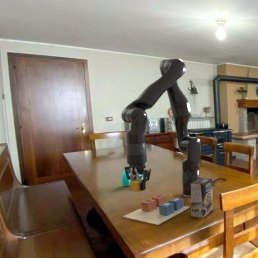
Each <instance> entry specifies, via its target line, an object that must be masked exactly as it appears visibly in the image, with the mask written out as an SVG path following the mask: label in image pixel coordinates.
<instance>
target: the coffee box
mask: <svg viewBox="0 0 258 258" xmlns="http://www.w3.org/2000/svg"><path fill="white" fill-rule="evenodd" d="M212 181H213V178H207V177H201V178H200V179H198V180H196V181H195V182H193V183H191V197H190V210H191V211H190V215H191V217H193V218H194V217H195V218H205V217H206V216H207V215H208V214H209V213H210V212H212V211H213V208H214V207H213V206H214V205H213V202H214V201H213V186H212Z"/></svg>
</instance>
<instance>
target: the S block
mask: <svg viewBox="0 0 258 258" xmlns="http://www.w3.org/2000/svg"><path fill="white" fill-rule="evenodd" d="M142 180H143V179H142ZM129 186H130V192H136V193H139V192H141V191H140V181H139V179H136V180H133V181H130V184H129ZM147 188H148V187H147V185H146V189H145V190H147Z"/></svg>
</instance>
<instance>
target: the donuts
mask: <svg viewBox="0 0 258 258" xmlns="http://www.w3.org/2000/svg"><path fill="white" fill-rule="evenodd" d="M142 175H143V174H142ZM142 175H140V176H142ZM129 176H130V174H129ZM137 179H139V178H137ZM142 179H143V177H142ZM121 184H122V186H123V187H129V186H130V180H128V179H127V176H126V173H125V170H123V172H122V173H121Z"/></svg>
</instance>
